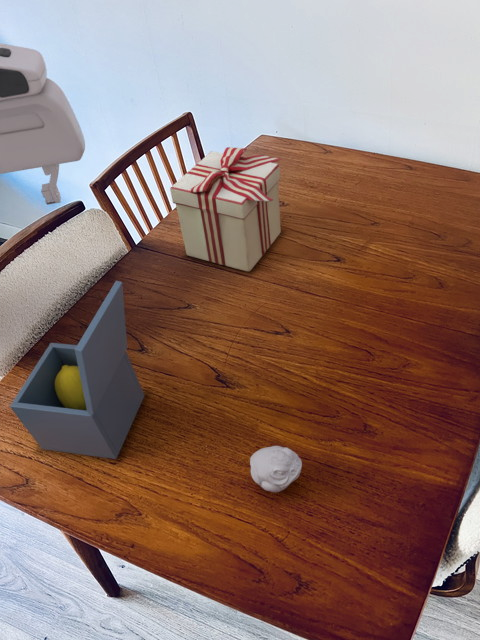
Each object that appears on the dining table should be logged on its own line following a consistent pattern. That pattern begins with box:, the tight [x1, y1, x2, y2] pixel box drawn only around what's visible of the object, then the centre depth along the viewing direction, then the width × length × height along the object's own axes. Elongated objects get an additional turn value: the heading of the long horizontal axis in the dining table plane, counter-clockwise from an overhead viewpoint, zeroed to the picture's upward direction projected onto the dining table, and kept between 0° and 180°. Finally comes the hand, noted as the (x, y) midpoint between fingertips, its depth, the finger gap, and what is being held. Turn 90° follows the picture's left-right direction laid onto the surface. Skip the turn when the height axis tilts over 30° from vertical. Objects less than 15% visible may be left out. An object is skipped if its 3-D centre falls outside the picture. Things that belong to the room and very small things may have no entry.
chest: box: [9, 342, 145, 460], centre depth 74 cm, size 12×12×10 cm
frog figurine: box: [249, 445, 303, 493], centre depth 66 cm, size 6×7×7 cm
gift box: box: [169, 146, 283, 273], centre depth 98 cm, size 17×18×17 cm
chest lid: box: [75, 280, 128, 414], centre depth 64 cm, size 12×12×1 cm
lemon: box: [55, 365, 87, 411], centre depth 75 cm, size 6×6×8 cm
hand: (12, 208), depth 59 cm, fingers open, 8 cm apart
